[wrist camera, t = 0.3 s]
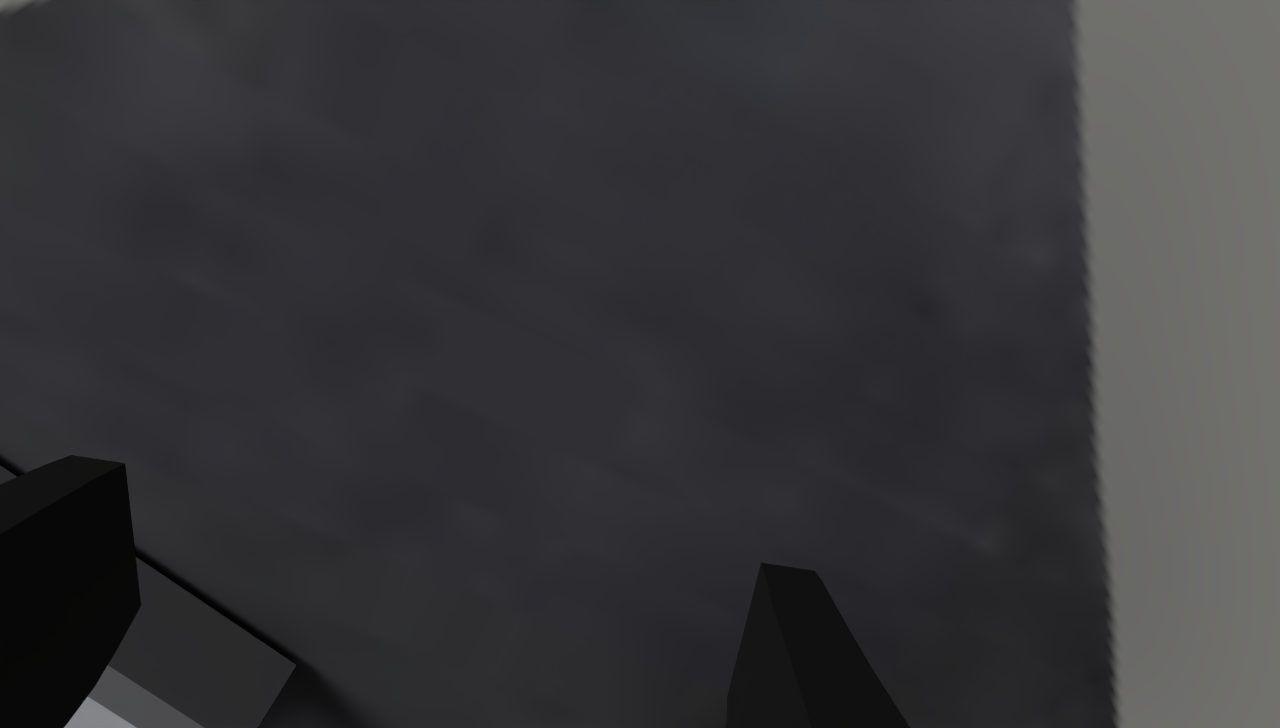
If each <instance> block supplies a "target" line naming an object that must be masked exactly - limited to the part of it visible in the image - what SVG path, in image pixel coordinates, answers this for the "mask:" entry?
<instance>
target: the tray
mask: <svg viewBox="0 0 1280 728" xmlns="http://www.w3.org/2000/svg"><path fill="white" fill-rule="evenodd" d="M16 477H17V476H15V475H14V474H12V473H11V472H9V471H8V470H6V469H5V468H3V467H2V466H0V484H2V483H4V482H7V481H9V480H11V479H13V478H16ZM136 564H137V572H138V581H139V590H140V599H141V607H140V609H139V611H138V613H137V614H136V616H135V618H134V620H133V622H132V623H131V625H130V627H129V629H128V631H127V632H126V634H125V636H124V638H123V640H122V642H121V643H120V645H119V647H118V649H117V651H116V652H115V654H114V656H113V657H112V659H111V661H110V662H109V664H108V666H107V667H106V669H105V671H104V672H103V674H102V676H101V677H100V679H99V681H98V682H97V684H96V686H95V687H94V688H93V690H92V691H91V692H90V694H89V695H88V697H87V698H86V699H85V701H84V702H83V703H82V705H81V706H80V707H79V709H78V710H77V711H76V713H75V714H74V715H73V717H72V718H71V719H70V721H69V722H68V723H67V725H66V726H65V727H64V728H258V726H259V725H260V723H261V722H262V720H263V718H264V717H265V715H266V714H267V712H268V710H269V709H270V707H271V706H272V704H273V702H274V701H275V699H276V697H277V696H278V694H279V693H280V691H281V689H282V688H283V686H284V685H285V683H286V681H287V680H288V678H289V676H290V675H291V673H292V672H293V670H294V668H295V667H296V664H294V663H293V662H291V661H290V660H288V659H287V658H285V657H284V656H282V655H281V654H279V653H278V652H276V651H275V650H273V649H272V648H270V647H269V646H267V645H266V644H265V643H263V642H262V641H260V640H259V639H257V638H256V637H254V636H253V635H251V634H250V633H248V632H247V631H245V630H244V629H242V628H241V627H239V626H238V625H236V624H235V623H233V622H232V621H230V620H229V619H227V618H226V617H224V616H223V615H221V614H220V613H219V612H217V611H216V610H214V609H213V608H211V607H210V606H208V605H207V604H205V603H204V602H202V601H201V600H199V599H198V598H196V597H195V596H193V595H192V594H190V593H189V592H187V591H186V590H184V589H183V588H181V587H180V586H178V585H177V584H175V583H174V582H173V581H171V580H170V579H168V578H167V577H165V576H164V575H162V574H161V573H159V572H158V571H156V570H155V569H153V568H152V567H150V566H149V565H147V564H146V563H144V562H143V561H141V560H140V559H138V558H137V557H136Z"/></svg>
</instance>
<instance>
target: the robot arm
mask: <svg viewBox="0 0 1280 728" xmlns="http://www.w3.org/2000/svg"><path fill="white" fill-rule="evenodd" d="M140 607H141V599H140V590H139V581H138V572H137V564H136V555H135V546H134V537H133V529H132V520H131V511H130V502H129V494H128V485H127V476H126V467H125V463H118V462H112V461H106V460H99V459H93V458H86V457H80V456H73V455H70V456H68V457H65V458H62V459H60V460H57V461H54V462H52V463H49V464H46V465H44V466H42V467H39V468H37V469H34V470H32V471H30V472H27V473H25V474H23V475H20V476H18V477H16V478H13V479H11V480H9V481H7V482H4V483H2V484H0V728H64V727H65V726H66V725H67V723H68V722H69V721H70V719H71V718H72V717H73V715H74V714H75V713H76V711H77V710H78V709H79V707H80V706H81V705H82V703H83V702H84V701H85V699H86V698H87V697H88V695H89V694H90V692H91V691H92V690H93V688H94V687H95V686H96V684H97V682H98V681H99V679H100V677H101V676H102V674H103V672H104V671H105V669H106V667H107V666H108V664H109V662H110V661H111V659H112V657H113V656H114V654H115V652H116V651H117V649H118V647H119V645H120V643H121V642H122V640H123V638H124V636H125V634H126V632H127V631H128V629H129V627H130V625H131V623H132V622H133V620H134V618H135V616H136V614H137V613H138V611H139V609H140ZM726 728H910V727H909V726H908V724H907V722H906V721H905V719H904V718H903V716H902V715H901V713H900V712H899V710H898V708H897V707H896V705H895V704H894V702H893V701H892V699H891V698H890V696H889V695H888V693H887V691H886V690H885V688H884V687H883V685H882V684H881V682H880V680H879V679H878V677H877V676H876V674H875V672H874V671H873V669H872V667H871V666H870V664H869V663H868V661H867V659H866V657H865V656H864V654H863V652H862V651H861V649H860V647H859V646H858V644H857V642H856V641H855V639H854V637H853V635H852V634H851V632H850V630H849V628H848V627H847V625H846V623H845V621H844V620H843V618H842V616H841V614H840V613H839V611H838V609H837V607H836V605H835V604H834V602H833V600H832V598H831V596H830V595H829V593H828V591H827V589H826V587H825V586H824V584H823V582H822V580H821V579H820V578H819V576H818V575H817V573H816V572H815V571H812V570H805V569H799V568H792V567H786V566H779V565H773V564H767V563H761V566H760V570H759V574H758V577H757V581H756V585H755V589H754V593H753V597H752V601H751V605H750V609H749V613H748V617H747V621H746V625H745V629H744V633H743V637H742V641H741V645H740V649H739V653H738V657H737V661H736V665H735V669H734V673H733V677H732V681H731V685H730V689H729V693H728V698H727V725H726Z"/></svg>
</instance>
